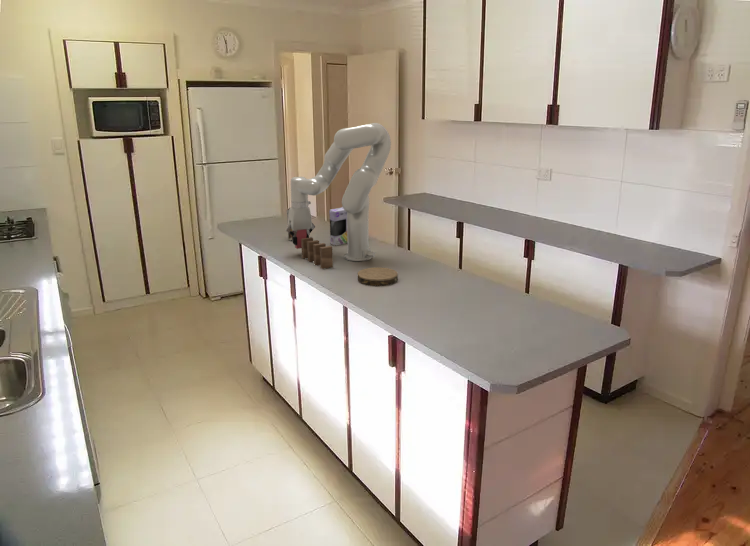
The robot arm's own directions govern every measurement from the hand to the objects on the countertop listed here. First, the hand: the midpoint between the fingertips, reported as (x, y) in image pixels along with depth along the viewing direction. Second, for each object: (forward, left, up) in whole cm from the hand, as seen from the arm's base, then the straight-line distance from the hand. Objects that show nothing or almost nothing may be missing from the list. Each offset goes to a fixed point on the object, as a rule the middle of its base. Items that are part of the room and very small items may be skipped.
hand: (300, 243), depth 250 cm
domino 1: (-6, +2, -5) cm, 8 cm away
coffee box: (+20, -21, -6) cm, 30 cm away
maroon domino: (0, 0, -2) cm, 2 cm away
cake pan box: (-4, -30, -6) cm, 31 cm away
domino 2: (-11, +5, -5) cm, 13 cm away
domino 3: (-17, +7, -5) cm, 19 cm away
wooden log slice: (-49, +13, -6) cm, 51 cm away
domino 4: (-22, +10, -5) cm, 25 cm away
